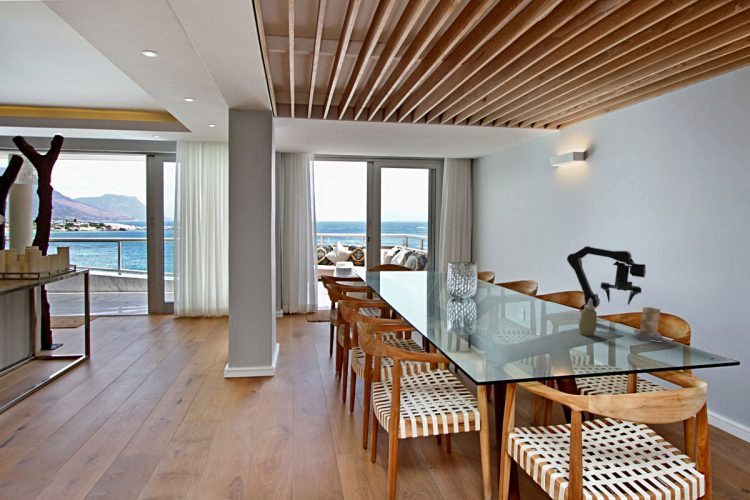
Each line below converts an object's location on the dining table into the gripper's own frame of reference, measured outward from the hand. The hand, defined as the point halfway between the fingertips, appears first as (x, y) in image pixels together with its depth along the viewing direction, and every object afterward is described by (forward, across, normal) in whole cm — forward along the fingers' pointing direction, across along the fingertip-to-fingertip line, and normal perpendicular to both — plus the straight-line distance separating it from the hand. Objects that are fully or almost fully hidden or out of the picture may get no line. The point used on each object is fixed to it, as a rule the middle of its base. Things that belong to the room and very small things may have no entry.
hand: (618, 303), depth 240 cm
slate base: (+13, +13, -14) cm, 23 cm away
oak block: (+10, +13, -14) cm, 22 cm away
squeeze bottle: (+13, -15, -26) cm, 33 cm away
